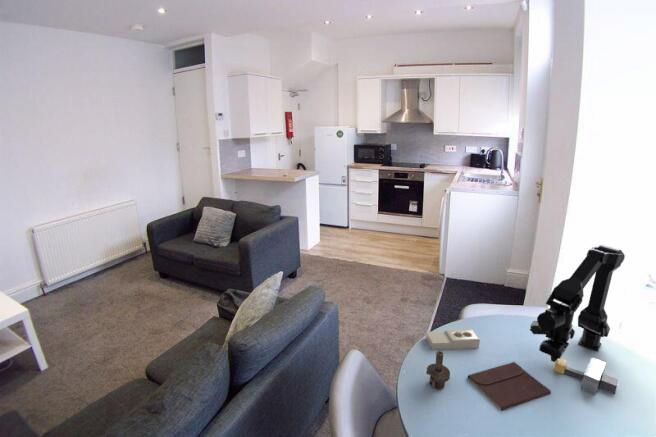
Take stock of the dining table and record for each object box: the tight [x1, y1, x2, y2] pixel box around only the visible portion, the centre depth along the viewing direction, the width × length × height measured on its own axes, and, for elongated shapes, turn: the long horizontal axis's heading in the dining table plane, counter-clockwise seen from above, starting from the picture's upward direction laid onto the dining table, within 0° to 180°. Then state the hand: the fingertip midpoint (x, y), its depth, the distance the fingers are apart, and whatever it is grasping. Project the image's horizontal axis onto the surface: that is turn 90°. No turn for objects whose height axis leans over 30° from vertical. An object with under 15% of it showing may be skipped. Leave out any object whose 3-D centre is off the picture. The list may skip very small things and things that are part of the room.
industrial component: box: [425, 350, 451, 390], centre depth 119 cm, size 9×7×12 cm
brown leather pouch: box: [467, 361, 552, 412], centre depth 120 cm, size 15×20×2 cm
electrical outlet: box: [425, 328, 481, 351], centre depth 142 cm, size 7×4×18 cm
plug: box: [553, 357, 619, 395], centre depth 123 cm, size 4×17×3 cm, turn 50°
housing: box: [580, 356, 607, 396], centre depth 121 cm, size 12×4×6 cm, turn 136°
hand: (553, 361), depth 129 cm, fingers closed
